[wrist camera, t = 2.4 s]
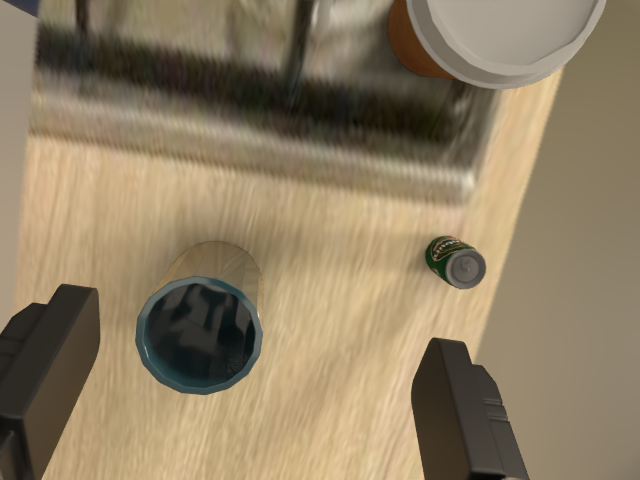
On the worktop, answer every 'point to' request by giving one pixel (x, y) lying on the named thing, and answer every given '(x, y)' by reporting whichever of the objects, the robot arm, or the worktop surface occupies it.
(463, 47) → the disposable coffee cup
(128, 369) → the worktop surface
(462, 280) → the beer can
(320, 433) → the worktop surface
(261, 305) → the cup
